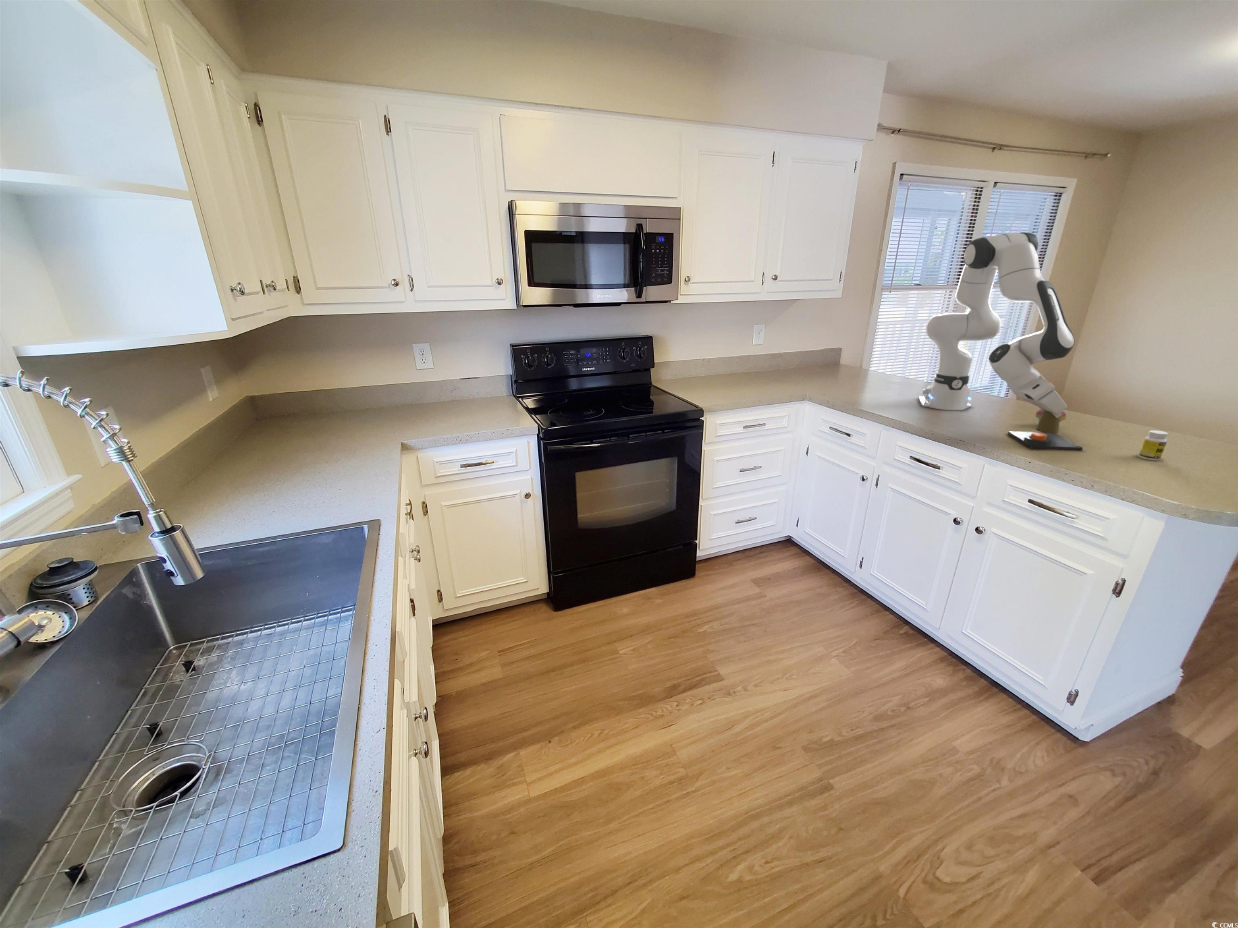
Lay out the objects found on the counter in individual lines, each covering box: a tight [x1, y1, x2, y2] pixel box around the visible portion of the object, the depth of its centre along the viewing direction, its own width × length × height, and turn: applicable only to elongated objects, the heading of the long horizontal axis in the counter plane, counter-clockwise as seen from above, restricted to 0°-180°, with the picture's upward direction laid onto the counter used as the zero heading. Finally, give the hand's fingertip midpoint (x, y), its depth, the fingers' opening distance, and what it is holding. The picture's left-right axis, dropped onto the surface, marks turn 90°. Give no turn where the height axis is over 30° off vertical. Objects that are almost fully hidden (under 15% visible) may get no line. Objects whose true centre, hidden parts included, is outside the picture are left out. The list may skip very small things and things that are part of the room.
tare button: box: [1030, 431, 1047, 440], centre depth 163 cm, size 4×4×2 cm
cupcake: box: [1035, 408, 1067, 424], centre depth 181 cm, size 9×8×12 cm
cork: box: [1035, 410, 1060, 434], centre depth 167 cm, size 6×6×11 cm
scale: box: [1007, 431, 1083, 452], centre depth 168 cm, size 16×15×3 cm
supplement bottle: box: [1138, 429, 1169, 461], centre depth 150 cm, size 5×5×8 cm
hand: (1053, 414), depth 167 cm, fingers closed on cork, 4 cm apart
